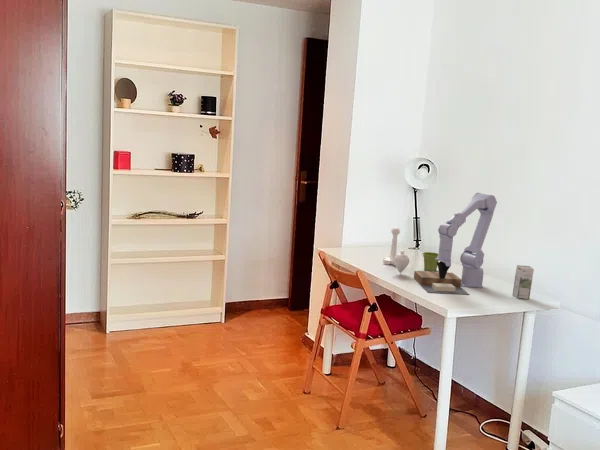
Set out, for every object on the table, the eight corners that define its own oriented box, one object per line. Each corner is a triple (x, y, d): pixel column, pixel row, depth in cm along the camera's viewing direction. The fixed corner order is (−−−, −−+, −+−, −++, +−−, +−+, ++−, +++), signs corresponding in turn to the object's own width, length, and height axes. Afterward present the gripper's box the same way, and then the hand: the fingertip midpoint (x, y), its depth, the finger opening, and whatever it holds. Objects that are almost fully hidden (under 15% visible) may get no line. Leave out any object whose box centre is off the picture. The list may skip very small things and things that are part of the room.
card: (455, 287, 282) (455, 291, 282) (451, 283, 288) (450, 288, 288) (436, 286, 281) (435, 290, 282) (432, 282, 287) (431, 287, 287)
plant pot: (427, 272, 318) (429, 256, 316) (417, 268, 326) (419, 252, 325) (442, 272, 321) (444, 256, 320) (432, 268, 330) (434, 252, 328)
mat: (460, 287, 292) (460, 287, 292) (469, 294, 280) (469, 294, 280) (420, 285, 290) (420, 285, 290) (428, 292, 278) (428, 292, 278)
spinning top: (396, 276, 304) (398, 252, 302) (389, 272, 312) (392, 249, 310) (410, 276, 307) (413, 252, 305) (403, 272, 314) (406, 249, 312)
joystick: (401, 266, 329) (405, 228, 325) (389, 266, 325) (393, 228, 322) (389, 261, 338) (393, 225, 335) (378, 261, 335) (381, 225, 332)
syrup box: (524, 296, 285) (528, 265, 283) (529, 299, 279) (534, 268, 277) (512, 295, 285) (516, 264, 282) (517, 299, 279) (521, 267, 277)
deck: (451, 280, 304) (452, 272, 304) (460, 287, 292) (461, 279, 291) (413, 278, 303) (414, 270, 302) (420, 285, 290) (421, 277, 289)
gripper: (432, 245, 293) (429, 273, 295) (441, 252, 278) (438, 281, 281) (446, 246, 293) (443, 274, 295) (456, 253, 279) (453, 282, 281)
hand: (441, 278), depth 288 cm, fingers closed
